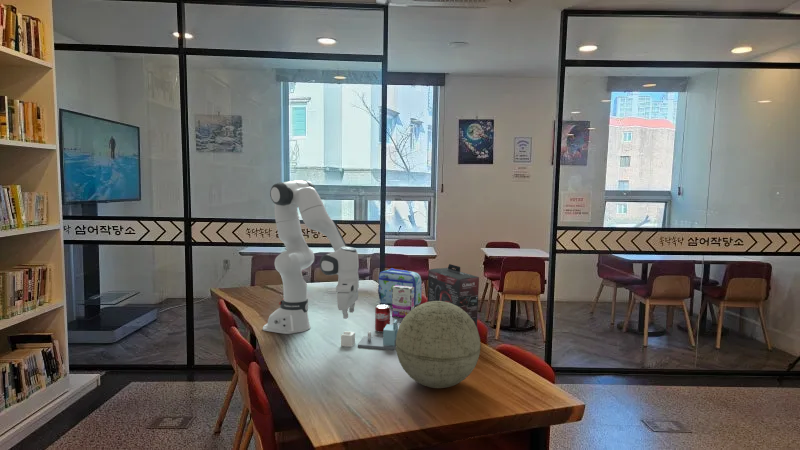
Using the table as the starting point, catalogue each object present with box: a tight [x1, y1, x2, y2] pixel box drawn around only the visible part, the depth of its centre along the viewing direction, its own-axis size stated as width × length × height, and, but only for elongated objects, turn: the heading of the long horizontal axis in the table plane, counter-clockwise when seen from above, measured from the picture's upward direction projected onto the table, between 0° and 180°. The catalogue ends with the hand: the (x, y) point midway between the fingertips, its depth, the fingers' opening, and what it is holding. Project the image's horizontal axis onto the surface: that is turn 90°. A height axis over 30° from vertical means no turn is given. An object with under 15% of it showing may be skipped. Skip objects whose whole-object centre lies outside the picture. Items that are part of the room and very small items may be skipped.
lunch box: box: [377, 267, 423, 307], centre depth 269 cm, size 26×11×21 cm, turn 58°
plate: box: [357, 331, 396, 351], centre depth 204 cm, size 16×11×5 cm
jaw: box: [340, 331, 356, 348], centre depth 203 cm, size 5×5×5 cm
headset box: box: [427, 263, 480, 328], centre depth 219 cm, size 25×12×33 cm, turn 32°
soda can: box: [374, 304, 391, 334], centre depth 222 cm, size 7×7×12 cm
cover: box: [382, 319, 399, 346], centre depth 202 cm, size 5×8×10 cm, turn 171°
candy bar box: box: [391, 285, 415, 319], centre depth 246 cm, size 11×5×16 cm, turn 68°
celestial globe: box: [395, 301, 481, 389], centre depth 163 cm, size 30×30×30 cm
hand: (348, 315), depth 202 cm, fingers open, 8 cm apart
